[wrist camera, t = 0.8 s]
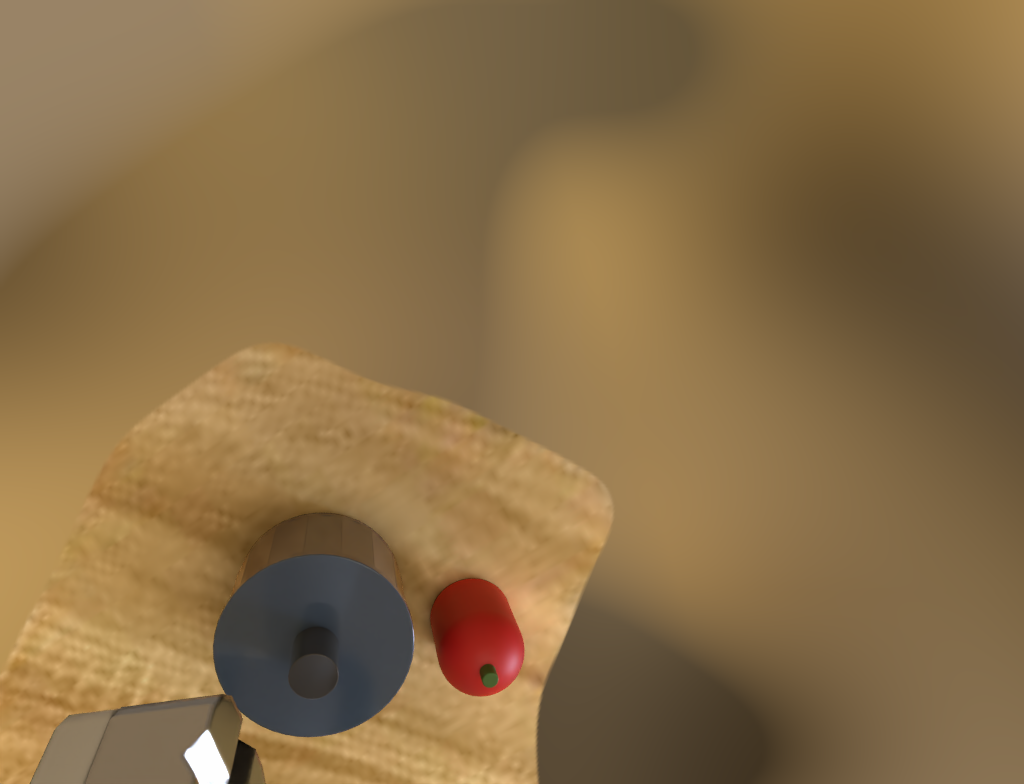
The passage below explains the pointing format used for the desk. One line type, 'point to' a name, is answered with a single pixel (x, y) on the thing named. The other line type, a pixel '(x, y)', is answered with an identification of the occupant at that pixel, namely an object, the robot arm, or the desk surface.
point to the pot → (321, 544)
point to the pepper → (476, 637)
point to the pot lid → (313, 643)
